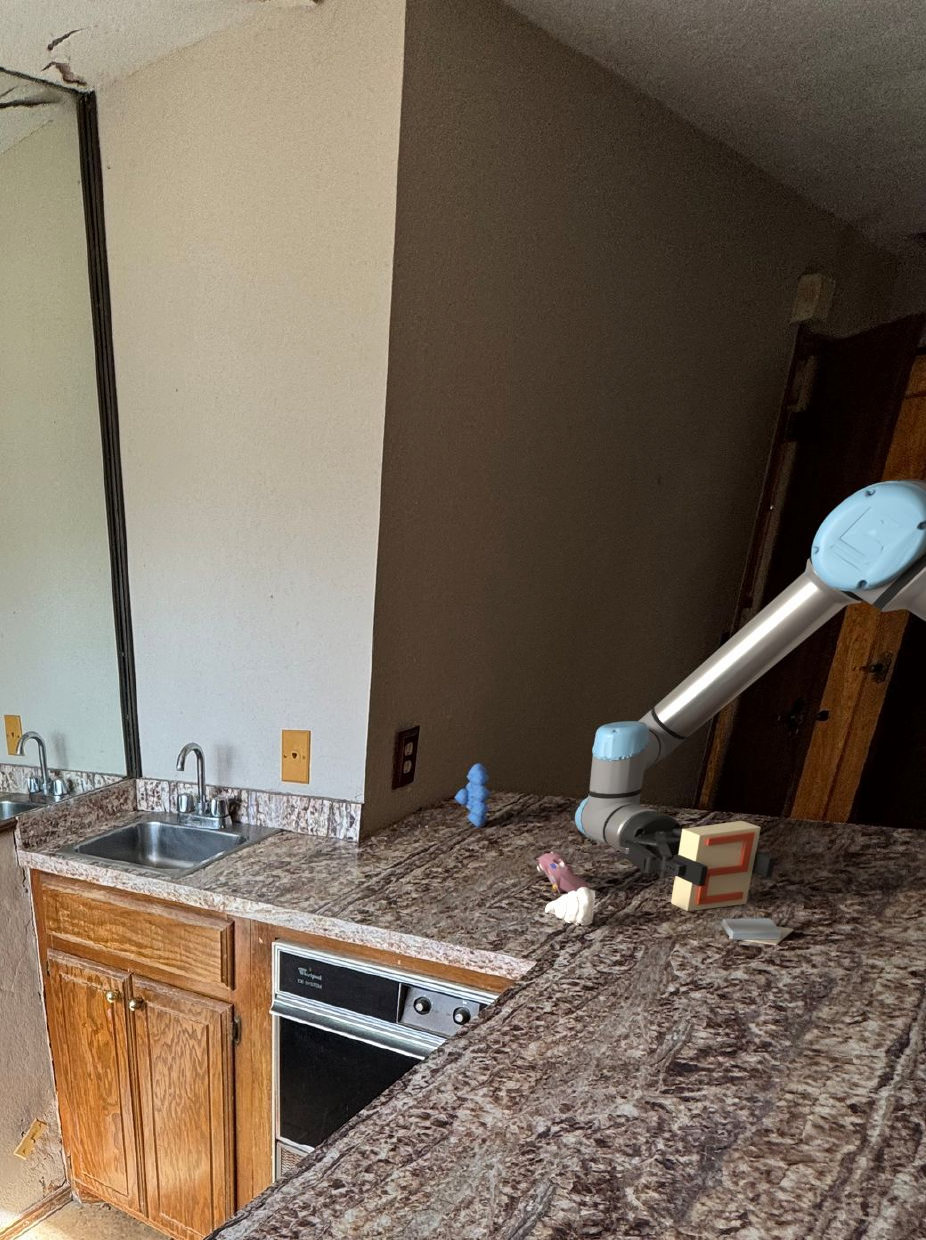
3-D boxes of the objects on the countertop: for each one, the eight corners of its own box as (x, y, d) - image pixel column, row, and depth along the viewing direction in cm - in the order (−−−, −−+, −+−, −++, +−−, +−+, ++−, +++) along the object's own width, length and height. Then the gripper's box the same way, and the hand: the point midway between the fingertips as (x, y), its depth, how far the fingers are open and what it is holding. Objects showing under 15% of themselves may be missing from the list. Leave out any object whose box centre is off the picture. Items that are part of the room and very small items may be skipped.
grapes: (449, 819, 187) (451, 761, 182) (484, 816, 185) (487, 758, 180) (457, 833, 177) (459, 772, 172) (493, 830, 175) (497, 768, 170)
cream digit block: (728, 895, 128) (741, 820, 123) (748, 904, 124) (763, 827, 119) (670, 903, 129) (682, 828, 124) (689, 912, 125) (701, 836, 120)
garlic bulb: (544, 917, 131) (547, 882, 129) (590, 918, 128) (594, 882, 126) (543, 930, 127) (546, 894, 125) (591, 931, 124) (595, 894, 122)
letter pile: (784, 930, 115) (788, 908, 114) (840, 956, 107) (846, 932, 105) (689, 942, 116) (693, 920, 115) (737, 968, 108) (742, 945, 106)
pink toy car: (546, 889, 146) (528, 854, 144) (574, 875, 144) (557, 839, 142) (563, 908, 137) (544, 871, 135) (593, 893, 135) (575, 856, 133)
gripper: (708, 847, 141) (812, 887, 121) (573, 866, 143) (653, 908, 122) (715, 800, 138) (824, 833, 117) (578, 819, 140) (661, 856, 119)
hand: (736, 872), depth 120 cm, fingers closed on cream digit block, 8 cm apart
